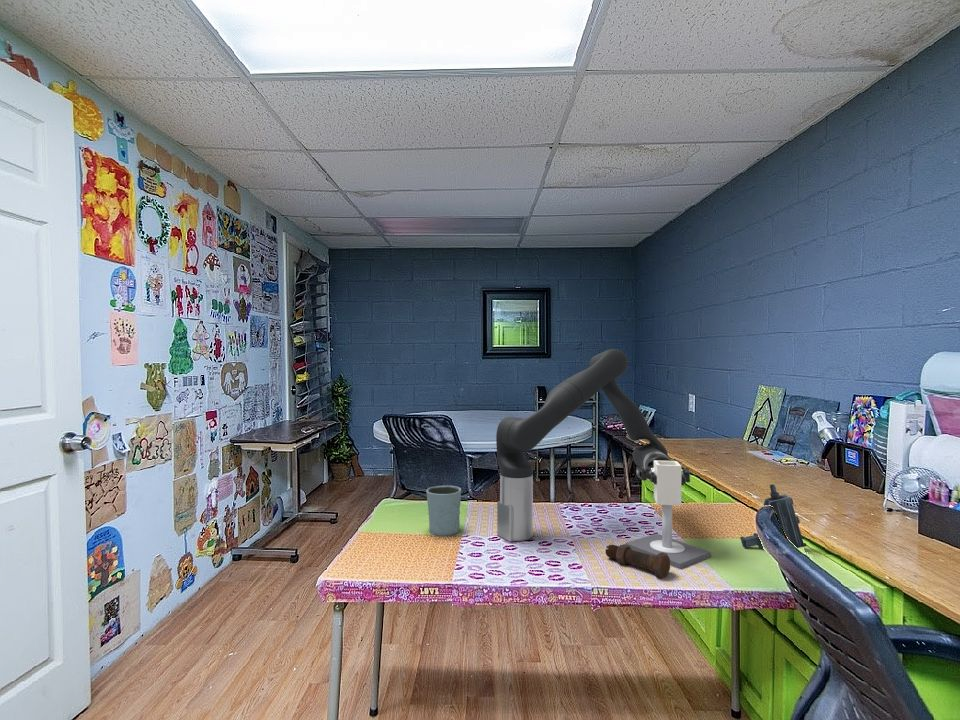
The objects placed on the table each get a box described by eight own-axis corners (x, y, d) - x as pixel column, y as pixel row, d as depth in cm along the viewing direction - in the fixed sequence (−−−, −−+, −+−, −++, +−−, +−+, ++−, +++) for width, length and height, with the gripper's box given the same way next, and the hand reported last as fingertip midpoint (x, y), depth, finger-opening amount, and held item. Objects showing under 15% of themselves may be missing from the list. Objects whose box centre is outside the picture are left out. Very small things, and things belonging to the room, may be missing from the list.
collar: (681, 505, 124) (681, 465, 124) (657, 504, 125) (657, 465, 125) (676, 499, 129) (676, 461, 129) (653, 497, 130) (653, 460, 130)
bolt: (610, 564, 124) (667, 582, 113) (600, 559, 121) (657, 576, 110) (615, 541, 126) (672, 556, 115) (606, 535, 123) (663, 550, 112)
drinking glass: (452, 538, 136) (452, 495, 136) (420, 534, 140) (420, 492, 140) (466, 527, 146) (466, 486, 146) (435, 523, 149) (435, 483, 149)
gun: (727, 493, 132) (784, 480, 130) (744, 554, 131) (801, 542, 130) (731, 496, 129) (789, 482, 128) (748, 558, 129) (807, 545, 127)
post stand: (679, 568, 117) (679, 509, 117) (625, 547, 130) (625, 493, 130) (710, 556, 124) (710, 500, 124) (656, 537, 137) (656, 486, 137)
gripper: (632, 452, 142) (639, 465, 126) (684, 454, 140) (699, 467, 123) (632, 478, 142) (639, 494, 126) (684, 480, 140) (699, 497, 123)
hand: (669, 480), depth 125 cm, fingers closed on collar, 5 cm apart
